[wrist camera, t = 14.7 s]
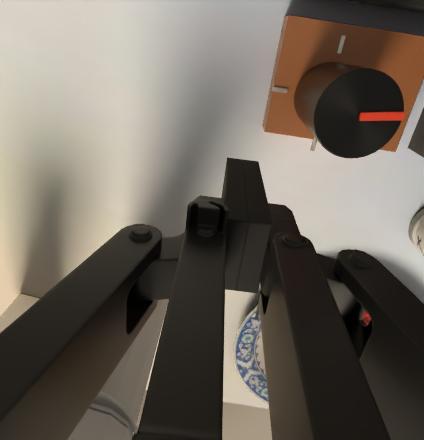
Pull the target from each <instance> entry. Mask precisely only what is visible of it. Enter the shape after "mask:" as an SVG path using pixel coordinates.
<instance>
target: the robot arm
mask: <svg viewBox="0 0 424 440" xmlns="http://www.w3.org/2000/svg"><path fill="white" fill-rule="evenodd" d="M259 284H261V293H260V297H259V302H258V306H257V311H256V315H255V320H258V317H259V315H260V323H261V332H262V342H263V352H264V362H265V371H266V381H267V391H268V401H269V410H270V420H271V430H272V439H273V440H424V304H423V303H422V302H421V301H420V300H419V299H418V298H417V297H416V296H415V295H414V294H413V293H412V292H411V291H410V290H409V289H408V288H407V287H405V286H404V285H403V284H402V283H401V282H400V281H399V280H398V279H397V278H396V277H395V276H394V275H393V274H392V273H391V272H390V271H389V270H388V269H387V268H386V267H384V266H383V265H382V264H381V263H380V262H379V261H378V260H377V259H375V258H374V257H373V256H371V255H369V254H367V253H366V252H363V251H360V250H350V249H348V250H342V251H340V252H339V253H338V256H337V259H333V258H329V257H326V256H323V255H320V254H318V253H316V251H315V249H314V246H313V244H312V243H311V241H310V240H309V239H307V238H306V237H304V236H302V235H300V232H299V229H298V227H297V224H296V221H295V219H294V216H293V213H292V211H291V210H290V209H289V208H287V207H286V206H285V205H278V204H270V203H268V202H267V198H266V193H265V189H264V185H263V180H262V176H261V172H260V167H259V163H258V162H257V161H249V160H241V159H233V158H227V163H226V170H225V177H224V184H223V191H222V198H215V197H208V196H199V197H198V198H196V199H195V200H194V201H193V202H190V203H189V205H188V209H187V219H186V229H185V232H184V233H183V234H181V235H179V236H175V237H167V238H162V233H161V231H160V230H158V229H157V228H155V227H153V226H150V225H145V224H134V225H131V226H127V227H125V228H123V229H121V230H120V231H119V232H118V233H117V234H115V235H114V236H113V237H112V238H111V239H109V240H108V241H107V242H106V243H105V244H104V245H102V246H101V247H100V248H99V249H98V250H97V251H95V252H94V253H93V254H92V255H91V256H90V257H88V258H87V259H86V260H85V261H84V262H83V263H81V264H80V265H79V266H78V267H77V268H76V269H74V270H73V271H72V272H71V273H70V274H69V275H67V276H66V277H65V278H64V279H63V280H62V281H60V282H59V283H58V284H57V285H56V286H55V287H53V288H52V289H51V290H50V291H49V292H48V293H46V294H45V295H44V296H43V297H42V298H41V299H39V300H38V301H37V302H36V303H35V304H34V305H32V306H31V307H30V308H29V309H28V310H27V311H25V312H24V313H23V314H22V315H21V316H20V317H18V318H17V319H16V320H15V321H14V322H13V323H11V324H10V325H9V326H8V327H7V328H5V329H4V330H3V331H2V332H1V333H0V440H68V438H69V437H70V435H71V434H72V432H73V431H74V429H75V428H76V426H77V425H78V423H79V422H80V420H81V419H82V417H83V416H84V414H85V413H86V411H87V410H88V408H89V407H90V405H91V404H92V402H93V401H94V400H95V398H96V397H97V395H98V394H99V392H100V391H101V389H102V388H103V386H104V385H105V383H106V382H107V380H108V379H109V377H110V376H111V374H112V373H113V371H114V370H115V368H116V367H117V365H118V364H119V362H120V361H121V359H122V358H123V356H124V355H125V353H126V352H127V350H128V349H129V347H130V346H131V344H132V343H133V341H134V340H135V338H136V337H137V335H138V334H139V332H140V331H141V329H142V328H143V326H144V325H145V323H146V322H147V320H148V319H149V317H150V316H151V314H152V313H153V311H154V310H155V308H156V307H157V304H158V300H164V299H169V301H168V305H167V310H166V314H165V318H164V322H163V327H162V331H161V335H160V339H159V344H158V348H157V352H156V356H155V361H154V365H153V369H152V373H151V378H150V382H149V386H148V390H147V395H146V399H145V403H144V407H143V412H142V416H141V420H140V424H139V428H138V431H137V433H136V434H134V435H133V438H132V440H222V411H223V410H222V409H223V359H224V306H225V289H227V290H235V291H243V292H251V293H258V289H259ZM365 310H366V311H367V313H368V314H369V316H370V318H371V320H370V322H369V324H368V325H367V324H366V323H365V322H364V321H363V320H362V318H363V315H364V313H365Z"/></svg>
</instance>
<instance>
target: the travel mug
mask: <svg viewBox="0 0 424 440" xmlns="http://www.w3.org/2000/svg"><path fill="white" fill-rule="evenodd" d="M409 237H410V240H411V241H412V243H413V244H414V245H415V246H416V247H417V248H418V249H419V251H420V252H421V253H422V254H423V255H424V208H423V209H422V210H421V211H419V212H418V213H417V214H416V215H415V216H414V218H413V219H412V221H411V223H410V226H409Z"/></svg>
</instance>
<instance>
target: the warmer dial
mask: <svg viewBox="0 0 424 440" xmlns="http://www.w3.org/2000/svg"><path fill="white" fill-rule="evenodd" d="M294 107H295V110H296V113H297V115H298V117H299V118H300V120H301V121H302V122H303V123H304V124H305V126H306V127H307V128H308V129H309V130H310V132H311V133H312V134H313V135H314V136H315V138H316V139H317V140H318V141H319V142H320V144H321V145H322V146H323V147H324V148H325V149H326V150H327V151H329V152H330V153H332V154H334V155H336V156H339V157H343V158H359V157H364V156H367V155H370V154H372V153H374V152H376V151H377V150H379V149H381V148H382V147H383V146H384V145H386V144H387V143H388V142H389V141H390V140H391V138H392V137H393V136H394V135H395V133H396V132H397V130H398V128H399V126H400V123H401V121H402V120H403V119H404V114H405V112H404V100H403V95H402V92H401V90H400V88H399V86H398V84H397V83H396V82H395V81H394V79H393V78H391V77H390V76H389V75H387V74H386V73H384V72H382V71H379V70H375V69H370V68H364V67H359V66H354V65H349V64H344V63H338V62H325V63H321V64H318V65H316V66H314V67H313V68H311V69H310V70H309V71H307V72H306V73H305V74H304V75H303V77H302V78H301V79H300V81H299V83H298V85H297V87H296V90H295V94H294Z"/></svg>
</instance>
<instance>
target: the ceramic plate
mask: <svg viewBox="0 0 424 440" xmlns="http://www.w3.org/2000/svg"><path fill="white" fill-rule="evenodd" d="M257 306H258V305H257ZM257 306H256V307H255V308H254V309H253V310H252V311H251V312H250V313H249V314H248V315H247V317H246V318H245V319H244V321H243V322H242V324H241V326H240V328H239V330H238V332H237V335H236V339H235V342H234V349H233V357H234V363H235V367H236V370H237V373H238V375H239V377H240V378H241V380H242V382H243V383H244V384H245V386H246V387H247V388H248V389H249V390H250V391H251V392H252V393H253V394H254V395H255V396H257V397H258V398H259V399H261V400H262V401H264V402H265V403H267V404H269V401H268V391H267V381H266V371H265V362H264V352H263V342H262V332H261V323H260V315H259V317H258V320H255V315H256V311H257ZM362 320H363V321H364V322H365V323H366V324H367V325H368V324H369V322H370V320H371V318H370V316H369V314H368V313H367V311H366V310H365V313H364V315H363V318H362Z"/></svg>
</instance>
